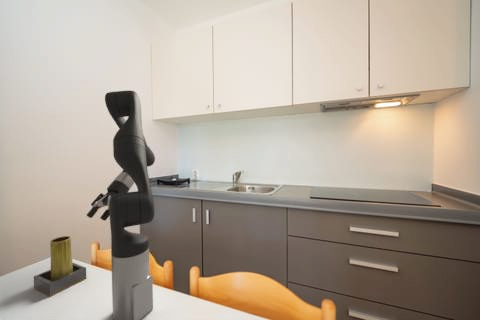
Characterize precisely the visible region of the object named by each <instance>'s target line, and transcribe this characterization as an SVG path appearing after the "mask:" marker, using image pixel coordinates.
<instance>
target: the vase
mask: <svg viewBox="0 0 480 320" xmlns="http://www.w3.org/2000/svg"><path fill="white" fill-rule="evenodd" d="M49 244H50V270H51V282H53V281H55V280H57V279H59V278H61V277H64V276H66V275H68V274H70V273H72V272H73V265H72V263H73V256H72V239H71V236H69V235H63V236H60V237H55V238H52V239H51V240H50V243H49Z"/></svg>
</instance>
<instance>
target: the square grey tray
mask: <svg viewBox="0 0 480 320" xmlns="http://www.w3.org/2000/svg"><path fill="white" fill-rule="evenodd" d="M72 265H73V272H72V273H70V274H68V275H66V276H64V277H61V278H59V279H57V280H55V281H53V282H51V269H49V270H46V271H43V272H41V273H38V274H36V275H33V289H34V290H36V291H38V292H40V293H42V294H44V295H46V296H48V297H49V298H51V297H53V296H55V295H57V294H59V293H61V292H63V291H65V290H67V289H68V288H69V289H70V288H71V287H73V286H75V285H77V284H78V283H81V282H83V281H85V280H86V279H87V267H86V266H83V265H81V264H77V263H75V262H72Z"/></svg>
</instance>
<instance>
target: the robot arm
mask: <svg viewBox="0 0 480 320" xmlns="http://www.w3.org/2000/svg"><path fill="white" fill-rule="evenodd" d="M104 101H105V102H104V103H105V107H106V109H107V111H108V113H109V116H111V118H112V120H113V121H114V123H115V125H116V126H117V127H118V128H119V129H118V130H117V131H116V133H115V135H114V137H113V140H112V145H113V146H112V147H113V148H112V149H113V157H114V160H115V162H116V164H117V165H118V166H119V167H120V168H121V169H122V171H121V172H119V174H118V175H117V176H116V177H115V178H114V179H113V181H112V182H111V183H110V184H109V185H108V186H107V188H106V191H107V192H106V193H105V194H104V193H102V192H101V193H99V194H98V196H96V198H95V199H93V201H92V203H90V205H91V207H92V208H91V209H90V210H89V211H88V212H87V213H86V217H88V218H90V219H91V218H93V217H94V216H95V215H96V214H97V213H98V212H99V210H100V209H101V208H105V207H107V208H106V209H105V211H104V212H103V214H101V216H100V219H101V220H102V221H107V219H108V218H109V223H110V234H111V235H110V236H111V237H110V240H111V242H110V243H111V244H110V246H111V250H110V251H111V258H110V259H111V291H112V292H111V294H112V300H111V301H112V320H142V319H143V318H144V317H145V316H146V315H147V314H148V313H150V312H152V310H153V309H154V291H153V275H152V274H150V273H151V271H150V265H151V264H150V239H149V237H148V236H147V235H145V234H142V233H136V232H131V231H129V230H127V229H125V228H129V227H134V226H139V225H145V224H150V223H151V222H153V220H154V218H155V202H154V197H153V192H152V187H151V183H150V182H151V181H150V178H149V177H150V176H149V173H148V171H149V170H148V167H151V166H153V165H154V163H155V161H156V157H155V154H154V152H153V150H152V149H151V147H150V146H148V144H147V141H146V138H145V136H144V132H143V123H142V122H143V121H142V105H141V104H142V103H141V99H140V97H139V94H138V93H137V92H136V91H134V90H119V91H118V90H117V91H109V92H106V93H105V95H104ZM125 117H126V118H127V119H126V118H125ZM134 184H135V185H136V188H137V191H130V190H131V188H132V187H133V186H134Z"/></svg>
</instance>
